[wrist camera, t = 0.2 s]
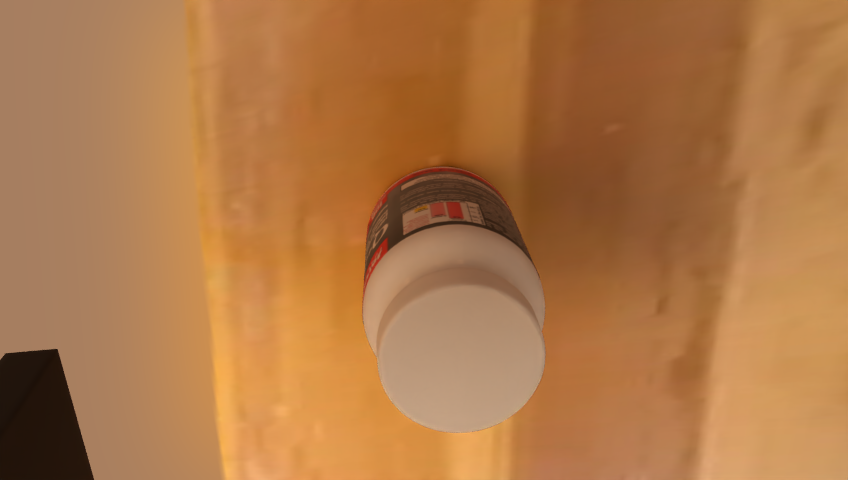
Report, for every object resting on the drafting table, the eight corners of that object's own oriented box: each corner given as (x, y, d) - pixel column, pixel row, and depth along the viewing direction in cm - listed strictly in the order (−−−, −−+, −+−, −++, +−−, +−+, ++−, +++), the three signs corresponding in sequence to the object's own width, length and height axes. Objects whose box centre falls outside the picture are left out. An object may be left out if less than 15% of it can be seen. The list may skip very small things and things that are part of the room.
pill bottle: (351, 179, 30) (336, 286, 21) (499, 148, 30) (550, 243, 21) (384, 313, 32) (383, 465, 23) (523, 285, 32) (578, 427, 23)
